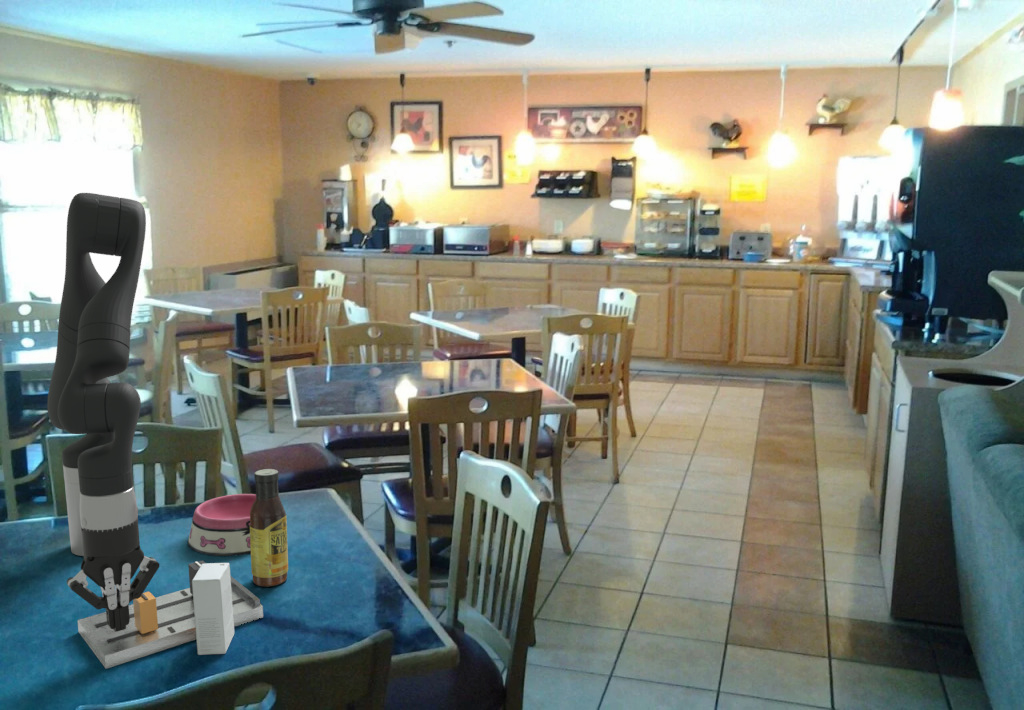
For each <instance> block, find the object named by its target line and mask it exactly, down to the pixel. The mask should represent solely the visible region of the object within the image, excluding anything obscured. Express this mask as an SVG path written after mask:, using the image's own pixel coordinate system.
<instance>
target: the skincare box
mask: <svg viewBox="0 0 1024 710" xmlns="http://www.w3.org/2000/svg"><path fill="white" fill-rule="evenodd" d="M205 563H206V564H202V565H201V567H200V568H199V570H198V572H197V573H196V575H195V577H194V578H193V580H192V588H193V601H194V614H195V626H196V650H197V655H198V656H204V655H224V654H226V653H227V650H228V648H229V646H230V644H231V642H232V640H233V637H234V635H235V627H234V619H233V606H232V592H231V578H230V576H231V568H230V567H231V565H230V563H229V562H214V563H213V562H210V563H207V562H205Z"/></svg>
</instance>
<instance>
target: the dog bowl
mask: <svg viewBox="0 0 1024 710" xmlns="http://www.w3.org/2000/svg"><path fill="white" fill-rule="evenodd" d="M255 500H256V493H255V494H254V493H237V494H236V493H235V494H228V495H223V496H222V495H221V496H218V497H214V498H211V499H208V500H206V501H203V502H202V503H201V504H199V505H197V506H196V508H195V510H194V512H193V516H192V517H191V518H192V519H191V527H190V532H189V536H188V538H187V539H188V540H187V544H188V547H189V548H190V549H191V550H192V551H194V552H196V553H198V552H199V553H198V554H201V555H205V554H206V555H205V556H211V555H212V556H213V557H236V556H235V555H237V556H243V555H244V554H245V555H251V544H250V510H251V507H252V504H253V503H254V502H255ZM245 555H244V556H245Z"/></svg>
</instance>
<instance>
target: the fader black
mask: <svg viewBox="0 0 1024 710" xmlns="http://www.w3.org/2000/svg"><path fill="white" fill-rule="evenodd" d="M206 563H207V562H205V561H204V560H199V561H194V562H191V563H188V564H187V567H188V578H189V588H190V593H191V594H192V595H193V588H192V580H193V578H194V577H195V575H196V573H197V572H198V570H199V568H200V567H201V565H202V564H206Z"/></svg>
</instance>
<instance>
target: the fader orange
mask: <svg viewBox="0 0 1024 710" xmlns="http://www.w3.org/2000/svg"><path fill="white" fill-rule="evenodd" d="M132 602H133V603H132V604H133V605H134V617H135V627H136V628H137V629H138V630H139V631H140V633H141V634H144V633H147V632H150V631H154V630H157V629H158V620H157V607H156V597H155V596H154V595H153V593H151V592H150V591H146V592H145V591H144V592H143V593H142V595H141V596H140V598H138V599H134V600H132Z"/></svg>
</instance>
